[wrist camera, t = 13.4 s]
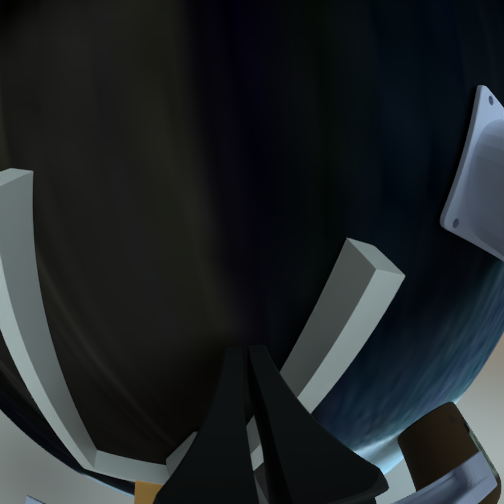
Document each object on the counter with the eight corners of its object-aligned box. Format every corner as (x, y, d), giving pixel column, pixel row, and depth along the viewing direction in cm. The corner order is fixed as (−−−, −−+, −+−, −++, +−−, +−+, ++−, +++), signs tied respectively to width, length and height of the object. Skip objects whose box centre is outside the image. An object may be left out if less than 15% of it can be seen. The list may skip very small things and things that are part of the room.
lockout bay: (374, 245, 11) (453, 327, 6) (226, 473, 23) (230, 513, 18) (10, 168, 7) (-84, 216, 2) (87, 450, 19) (80, 489, 14)
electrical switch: (196, 425, 16) (215, 540, 8) (257, 429, 18) (285, 529, 10) (164, 457, 20) (173, 538, 12) (212, 461, 22) (227, 536, 14)
